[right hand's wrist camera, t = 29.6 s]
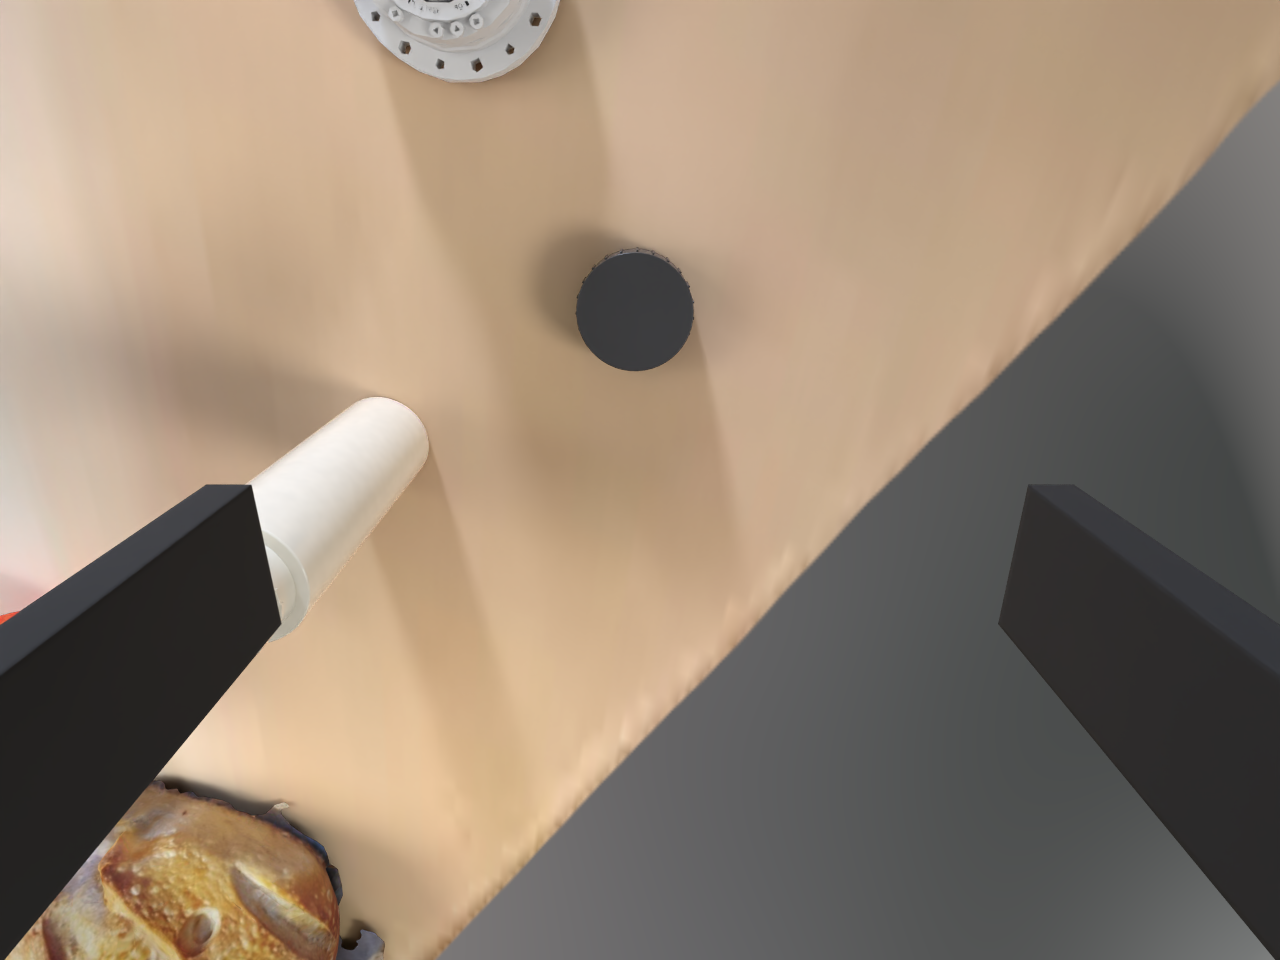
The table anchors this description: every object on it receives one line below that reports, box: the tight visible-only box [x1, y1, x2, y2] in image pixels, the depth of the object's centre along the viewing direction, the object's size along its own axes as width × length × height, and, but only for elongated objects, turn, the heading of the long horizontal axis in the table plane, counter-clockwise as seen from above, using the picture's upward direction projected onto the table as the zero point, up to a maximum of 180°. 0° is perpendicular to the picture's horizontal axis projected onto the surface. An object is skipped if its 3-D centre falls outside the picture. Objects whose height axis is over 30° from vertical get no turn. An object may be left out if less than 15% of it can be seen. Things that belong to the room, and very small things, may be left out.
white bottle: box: [245, 397, 429, 654], centre depth 34 cm, size 5×5×19 cm
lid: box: [576, 247, 694, 371], centre depth 39 cm, size 6×6×2 cm
